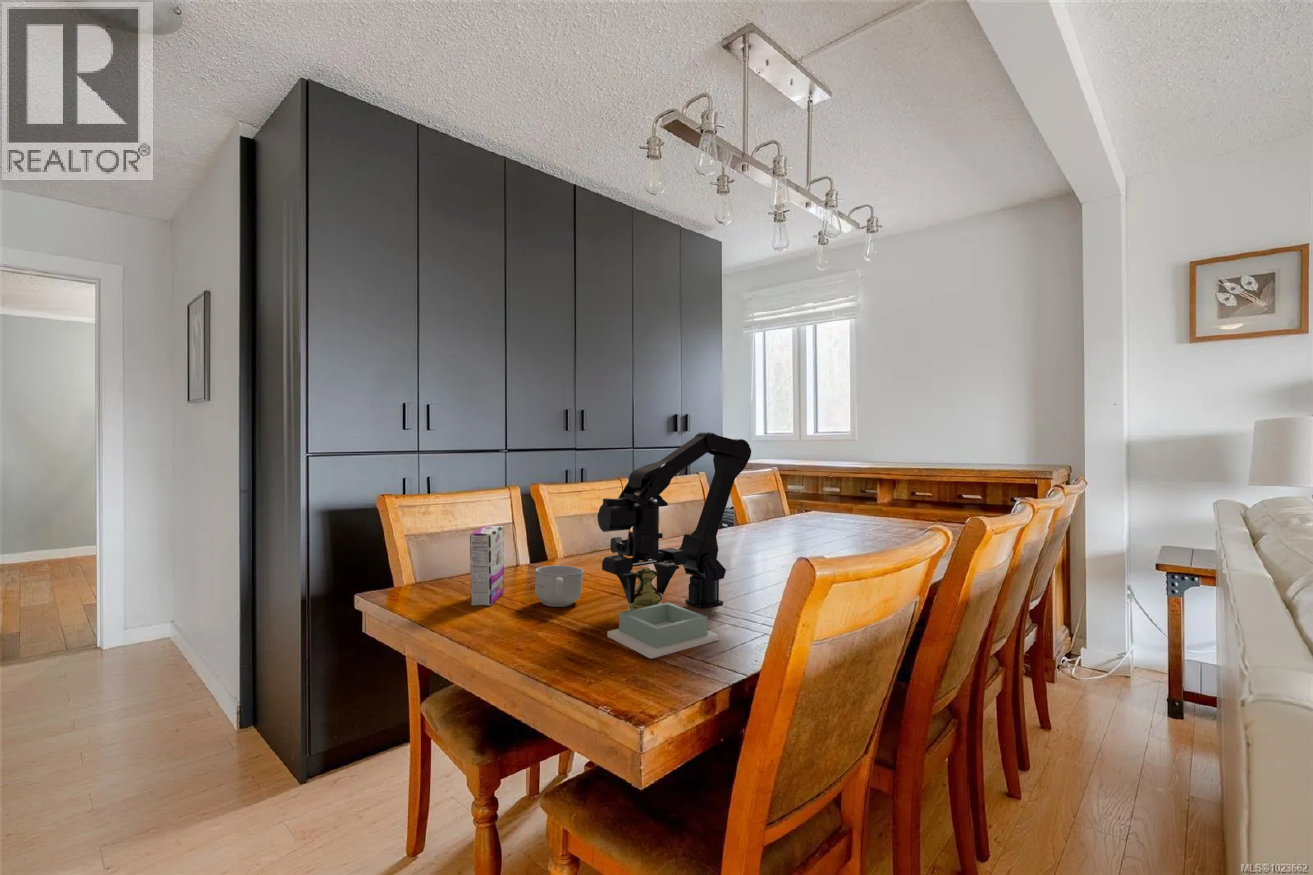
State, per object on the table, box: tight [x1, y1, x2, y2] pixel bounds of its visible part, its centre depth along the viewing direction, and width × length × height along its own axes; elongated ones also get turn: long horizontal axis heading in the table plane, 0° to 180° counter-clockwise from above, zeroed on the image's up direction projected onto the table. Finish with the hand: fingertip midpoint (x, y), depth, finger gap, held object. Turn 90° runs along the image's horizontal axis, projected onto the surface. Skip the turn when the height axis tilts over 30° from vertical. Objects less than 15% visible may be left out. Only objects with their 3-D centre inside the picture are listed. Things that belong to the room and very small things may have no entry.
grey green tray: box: [607, 601, 720, 659], centre depth 114 cm, size 16×14×4 cm
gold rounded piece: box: [627, 566, 664, 611], centre depth 129 cm, size 7×7×10 cm
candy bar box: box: [469, 525, 505, 607], centre depth 140 cm, size 11×5×16 cm, turn 179°
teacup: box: [534, 564, 584, 608], centre depth 135 cm, size 14×11×8 cm
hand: (645, 600), depth 129 cm, fingers closed on gold rounded piece, 7 cm apart
